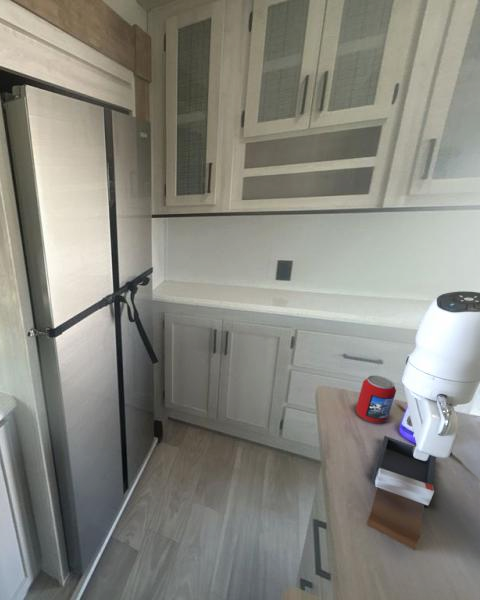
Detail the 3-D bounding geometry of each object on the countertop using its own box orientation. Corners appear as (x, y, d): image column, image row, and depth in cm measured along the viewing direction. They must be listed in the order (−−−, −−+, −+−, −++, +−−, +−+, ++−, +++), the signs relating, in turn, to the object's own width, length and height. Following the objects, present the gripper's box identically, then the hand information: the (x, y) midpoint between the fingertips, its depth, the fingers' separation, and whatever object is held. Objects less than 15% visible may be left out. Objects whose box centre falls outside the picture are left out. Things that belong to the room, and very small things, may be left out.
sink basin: (381, 446, 84) (384, 435, 82) (431, 466, 77) (436, 454, 76) (371, 482, 75) (374, 471, 74) (427, 508, 69) (432, 496, 67)
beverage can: (374, 427, 89) (385, 391, 84) (349, 411, 95) (358, 377, 91) (392, 421, 90) (404, 385, 86) (367, 405, 96) (376, 371, 92)
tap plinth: (414, 550, 62) (420, 536, 61) (366, 524, 67) (371, 511, 66) (419, 508, 69) (425, 495, 67) (375, 488, 74) (380, 475, 72)
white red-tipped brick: (375, 486, 70) (380, 472, 68) (374, 480, 71) (379, 466, 70) (428, 505, 65) (434, 491, 64) (427, 499, 66) (433, 484, 65)
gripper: (481, 423, 49) (450, 489, 54) (451, 358, 64) (429, 414, 69) (422, 409, 53) (398, 471, 58) (406, 350, 68) (389, 404, 73)
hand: (415, 439), depth 64 cm, fingers open, 8 cm apart
